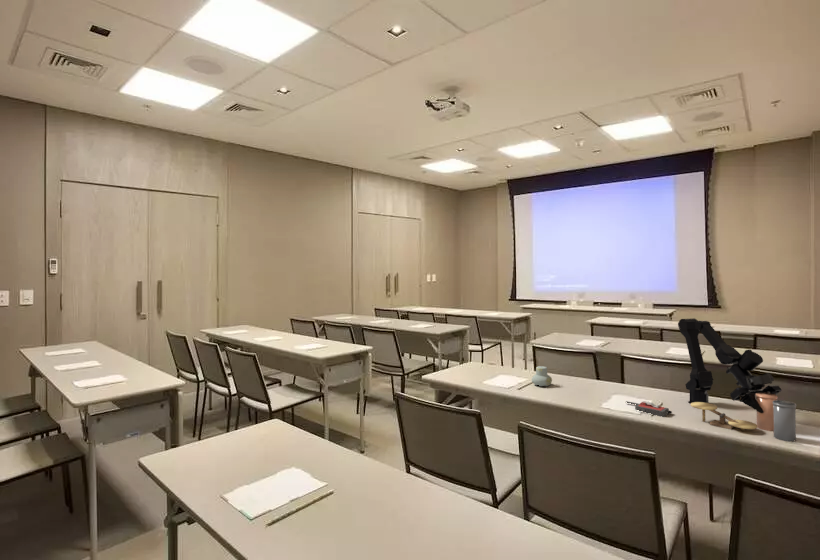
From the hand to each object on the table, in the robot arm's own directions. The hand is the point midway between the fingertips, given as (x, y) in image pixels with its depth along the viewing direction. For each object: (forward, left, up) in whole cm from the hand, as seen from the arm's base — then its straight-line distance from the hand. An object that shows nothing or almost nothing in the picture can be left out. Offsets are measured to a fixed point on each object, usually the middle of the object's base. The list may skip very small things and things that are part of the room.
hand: (769, 412), depth 171 cm
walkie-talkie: (-42, -10, -7) cm, 44 cm away
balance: (-13, -8, -7) cm, 17 cm away
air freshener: (-98, -6, -7) cm, 99 cm away
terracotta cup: (-1, +1, -7) cm, 7 cm away
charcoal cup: (+6, -7, -7) cm, 11 cm away
